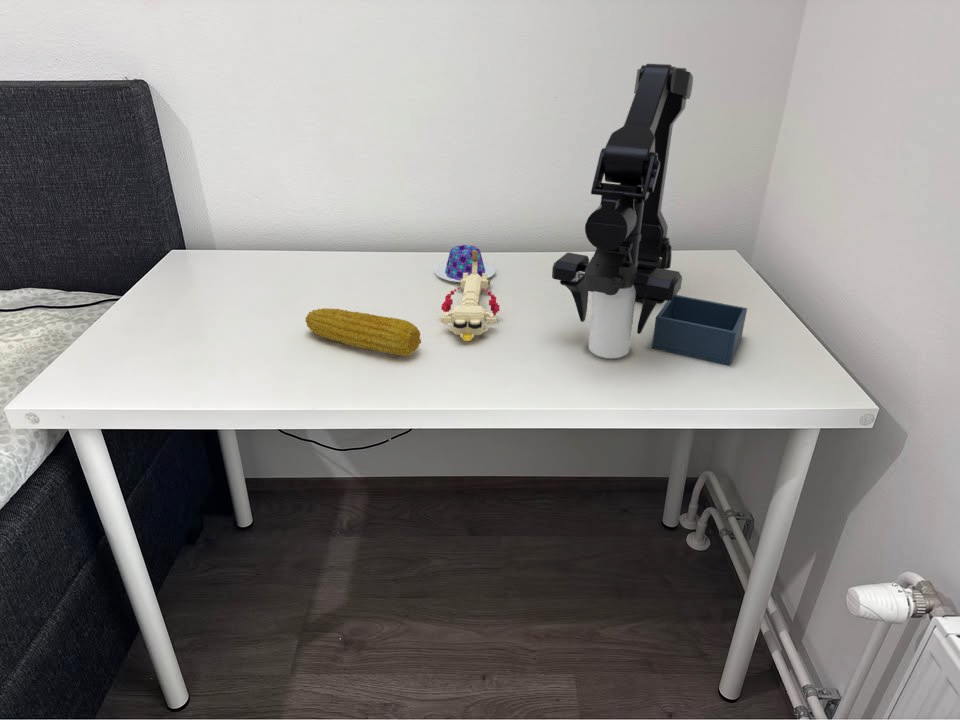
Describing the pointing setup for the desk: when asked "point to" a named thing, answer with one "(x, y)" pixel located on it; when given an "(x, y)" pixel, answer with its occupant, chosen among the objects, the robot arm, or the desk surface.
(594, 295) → the can
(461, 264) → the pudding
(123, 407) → the desk surface
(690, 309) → the bin
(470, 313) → the cream brick animal figure
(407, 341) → the food
